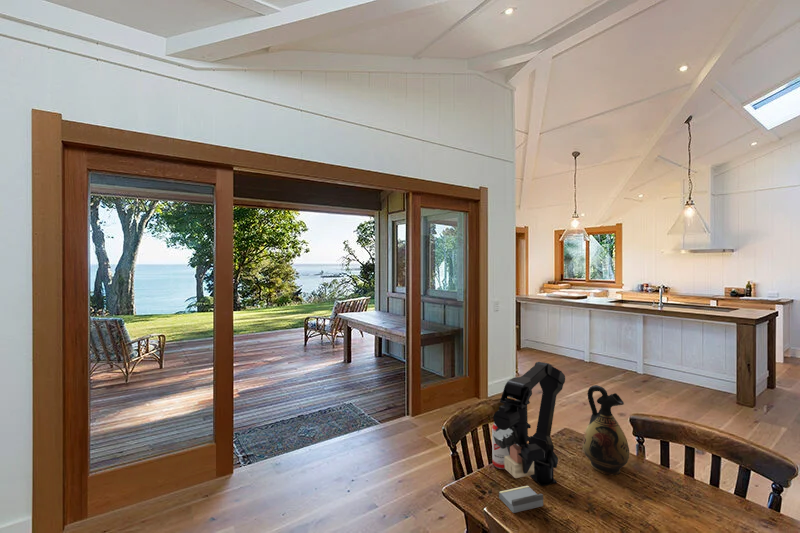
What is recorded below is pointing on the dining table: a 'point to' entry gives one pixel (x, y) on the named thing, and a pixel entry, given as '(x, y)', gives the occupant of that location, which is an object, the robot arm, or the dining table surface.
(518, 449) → the block
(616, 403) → the ceramic jug
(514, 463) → the beige slotted block
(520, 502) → the dock
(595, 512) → the dining table surface
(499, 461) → the beer can
